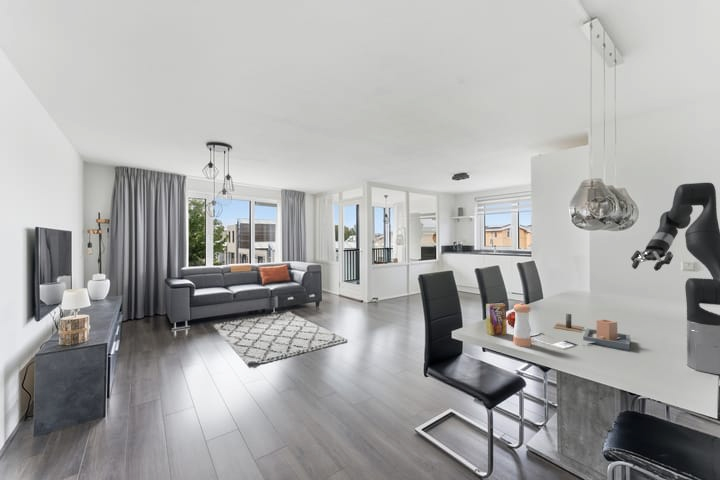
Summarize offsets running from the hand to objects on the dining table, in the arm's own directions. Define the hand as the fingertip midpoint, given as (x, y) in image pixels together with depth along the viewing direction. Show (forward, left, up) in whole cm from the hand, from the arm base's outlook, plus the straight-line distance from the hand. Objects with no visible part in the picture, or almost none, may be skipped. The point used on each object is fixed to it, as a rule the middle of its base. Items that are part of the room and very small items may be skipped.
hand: (644, 268), depth 144 cm
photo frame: (-29, +33, -34) cm, 55 cm away
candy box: (-35, +56, -34) cm, 74 cm away
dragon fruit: (-15, +52, -34) cm, 64 cm away
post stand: (-6, +29, -34) cm, 45 cm away
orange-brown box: (-16, +13, -33) cm, 39 cm away
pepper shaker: (-43, +42, -34) cm, 69 cm away
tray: (-16, +13, -34) cm, 40 cm away
